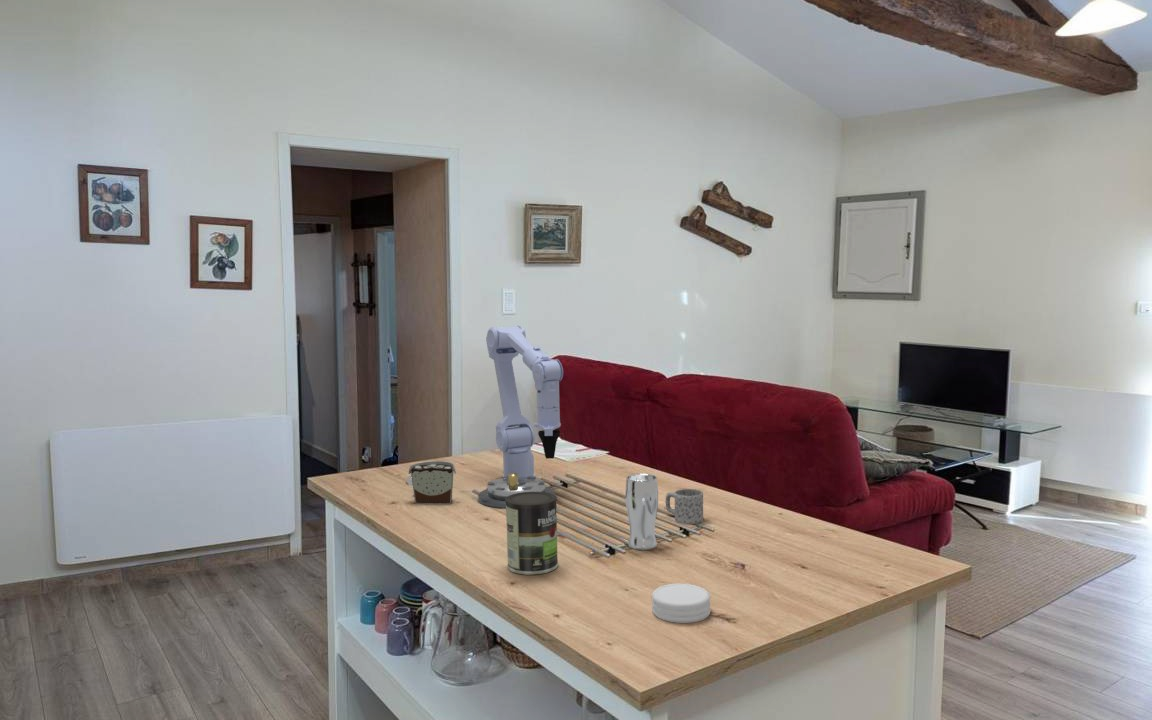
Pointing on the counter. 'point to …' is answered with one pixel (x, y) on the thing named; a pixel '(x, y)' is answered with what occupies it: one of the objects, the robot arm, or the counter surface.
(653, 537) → the beer glass
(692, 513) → the mug
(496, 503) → the dark grey flat disc
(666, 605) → the white round lid
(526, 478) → the lugged hub disc
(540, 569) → the coffee can
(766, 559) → the counter surface
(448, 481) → the food container
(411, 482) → the stirrer
